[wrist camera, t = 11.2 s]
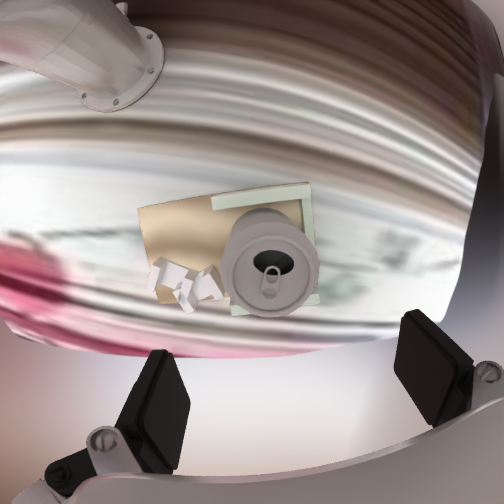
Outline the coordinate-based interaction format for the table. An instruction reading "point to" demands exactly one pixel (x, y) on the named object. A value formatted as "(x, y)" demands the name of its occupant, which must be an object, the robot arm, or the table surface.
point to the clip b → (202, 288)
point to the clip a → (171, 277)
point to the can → (268, 264)
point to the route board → (197, 232)
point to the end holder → (268, 196)
